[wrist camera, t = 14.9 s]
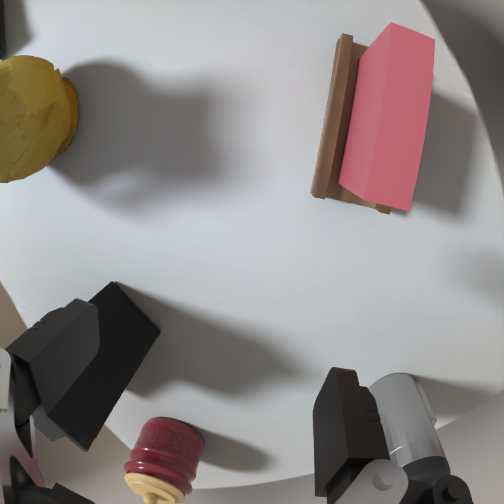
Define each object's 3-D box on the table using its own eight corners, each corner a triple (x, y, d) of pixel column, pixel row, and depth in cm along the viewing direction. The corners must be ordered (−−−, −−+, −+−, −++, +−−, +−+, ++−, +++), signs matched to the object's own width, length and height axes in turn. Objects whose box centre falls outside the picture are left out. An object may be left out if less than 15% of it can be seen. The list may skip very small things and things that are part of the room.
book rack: (406, 63, 29) (417, 57, 25) (381, 208, 35) (390, 214, 32) (336, 42, 29) (341, 33, 26) (310, 192, 35) (313, 196, 32)
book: (390, 69, 28) (434, 39, 17) (370, 190, 33) (408, 211, 22) (358, 59, 28) (390, 22, 17) (337, 182, 33) (362, 199, 22)
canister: (132, 418, 53) (99, 483, 36) (181, 411, 50) (152, 488, 33) (168, 454, 56) (145, 516, 39) (216, 449, 53) (199, 520, 36)
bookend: (95, 383, 51) (36, 468, 29) (56, 344, 49) (-15, 420, 27) (163, 330, 44) (90, 451, 22) (113, 278, 42) (8, 373, 20)
